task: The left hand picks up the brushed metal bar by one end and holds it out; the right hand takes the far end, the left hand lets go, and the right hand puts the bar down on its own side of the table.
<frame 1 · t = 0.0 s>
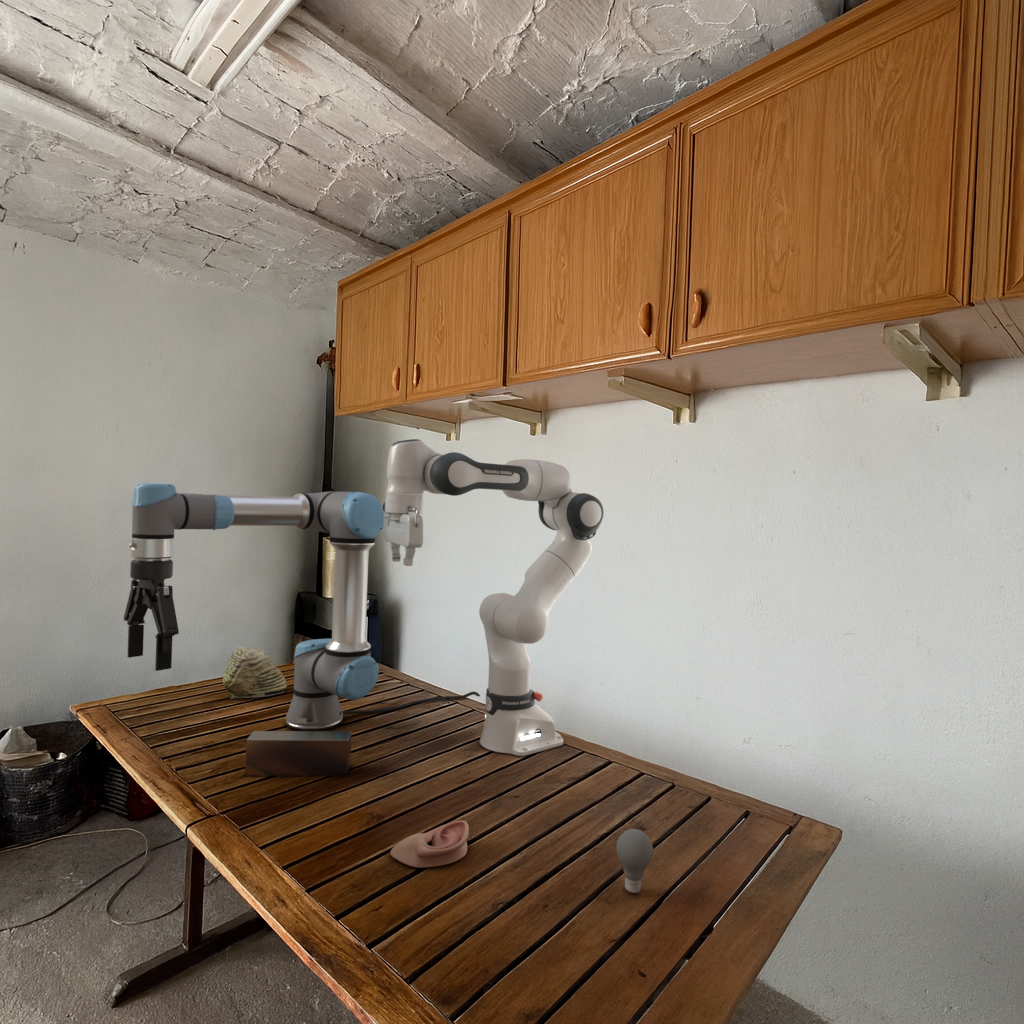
left hand: (148, 662, 129), 28 cm above the table, tool pointing down, fingers open, 13 cm apart
right hand: (401, 563, 153), 48 cm above the table, tool pointing down, fingers open, 8 cm apart
anatomical model: (430, 851, 115), on the table
light bulb: (632, 891, 106), on the table
fossil: (254, 694, 198), on the table
bar: (299, 770, 146), on the table
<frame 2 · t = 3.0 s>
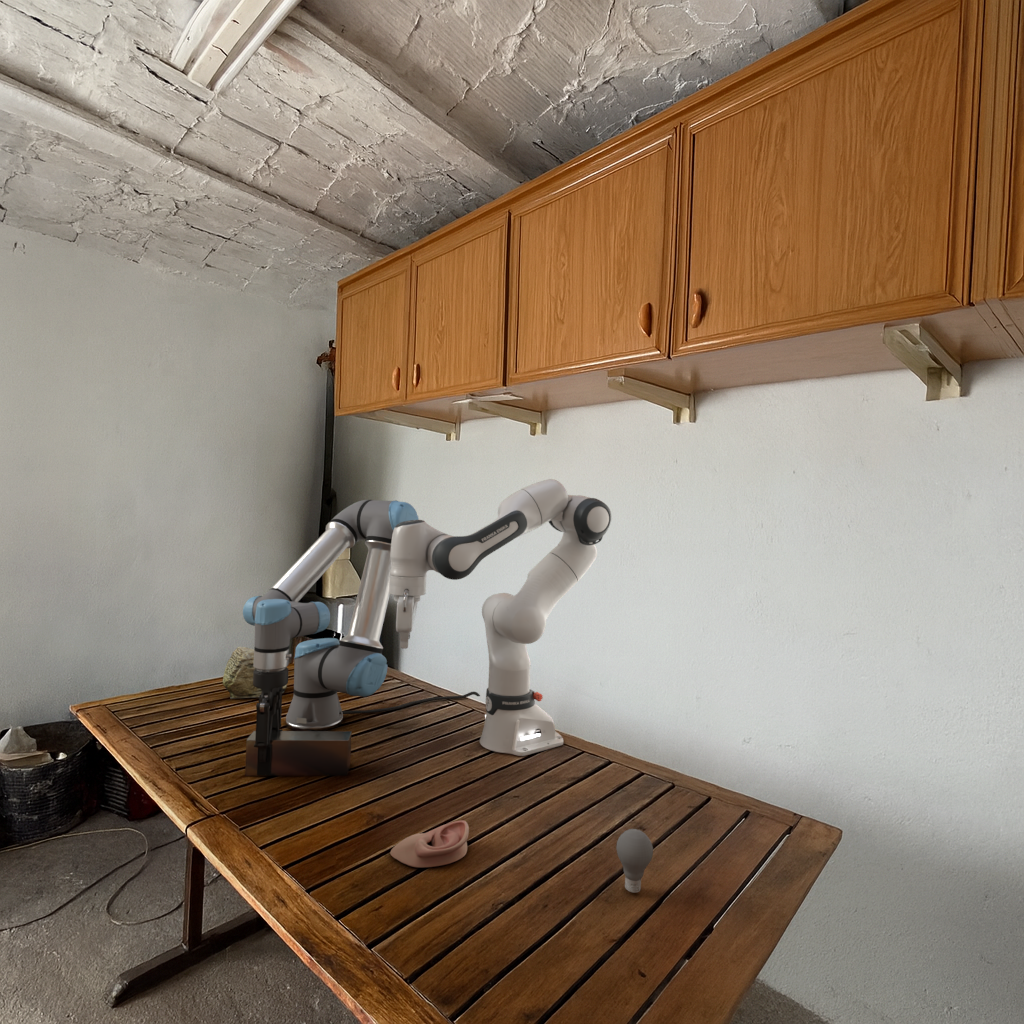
left hand: (267, 768, 145), 1 cm above the table, tool pointing down, fingers closed on bar, 6 cm apart
right hand: (405, 643, 154), 29 cm above the table, tool pointing down, fingers open, 8 cm apart
bar: (299, 770, 146), on the table, touching left hand
everything else where it was.
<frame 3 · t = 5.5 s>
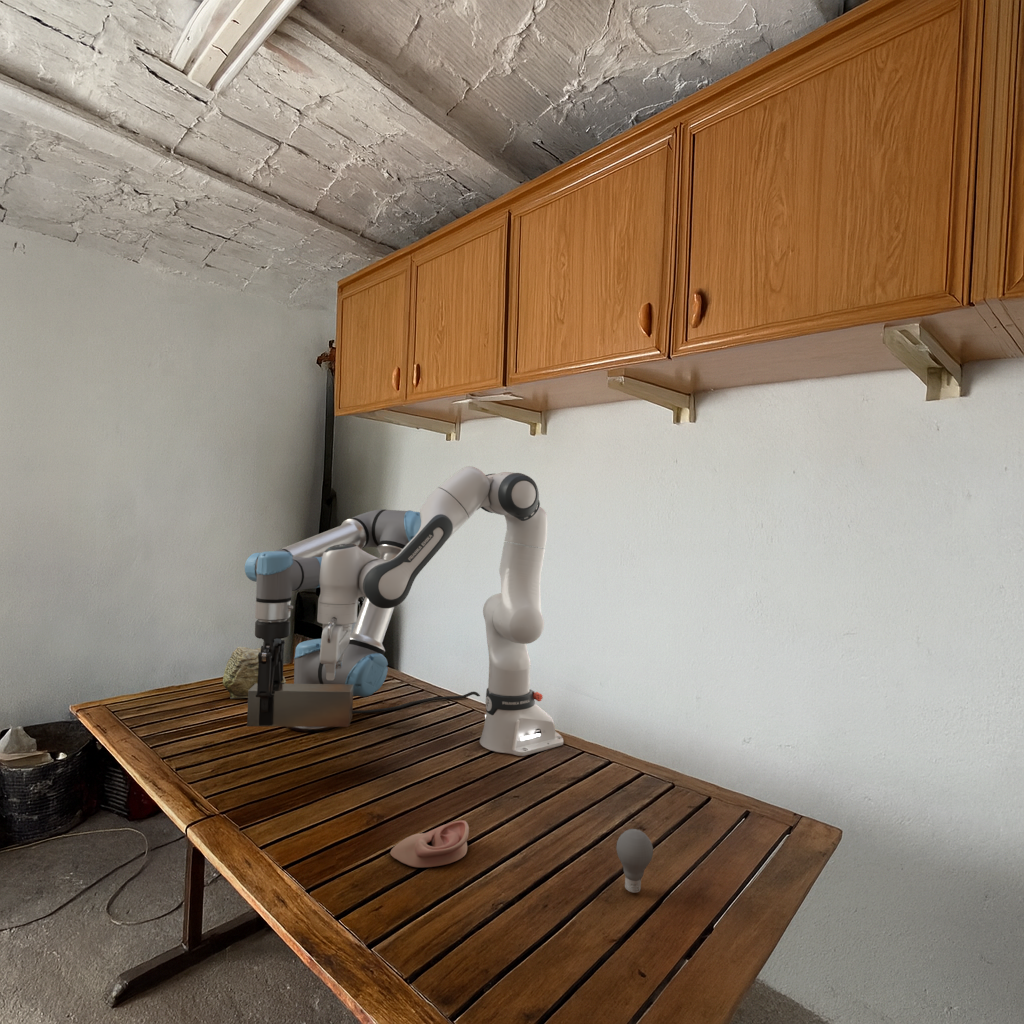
left hand: (269, 719, 145), 12 cm above the table, tool pointing down, fingers closed on bar, 6 cm apart
right hand: (334, 673, 146), 23 cm above the table, tool pointing down, fingers open, 8 cm apart
bar: (301, 722, 146), point 11 cm above the table, touching left hand
everything else where it was.
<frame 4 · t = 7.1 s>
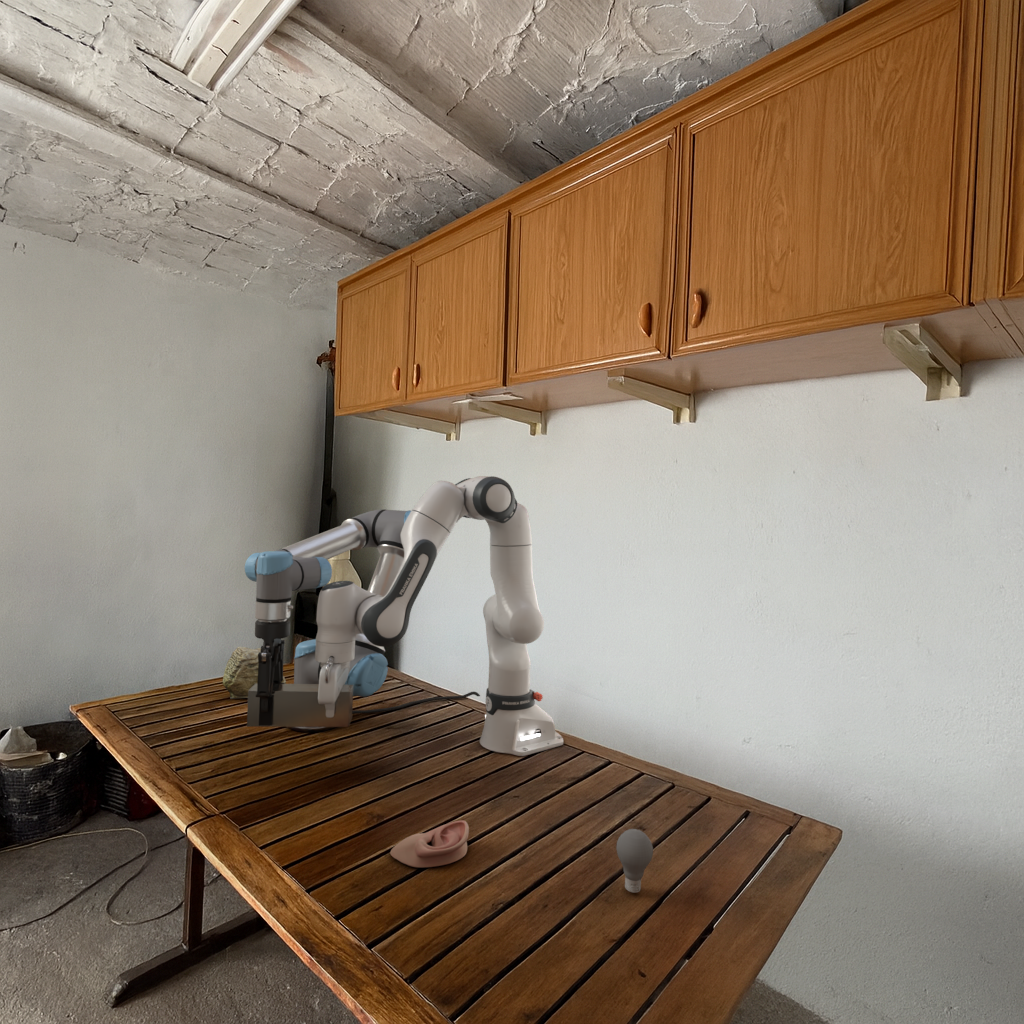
left hand: (269, 719, 145), 12 cm above the table, tool pointing down, fingers closed on bar, 6 cm apart
right hand: (332, 711, 147), 14 cm above the table, tool pointing down, fingers closed on bar, 5 cm apart
bar: (300, 722, 146), point 11 cm above the table, touching left hand, right hand
everything else where it was.
when the left hand's fingers open (12 cm above the table, at t = 8.0 s): bar stays where it is, held by the right hand.
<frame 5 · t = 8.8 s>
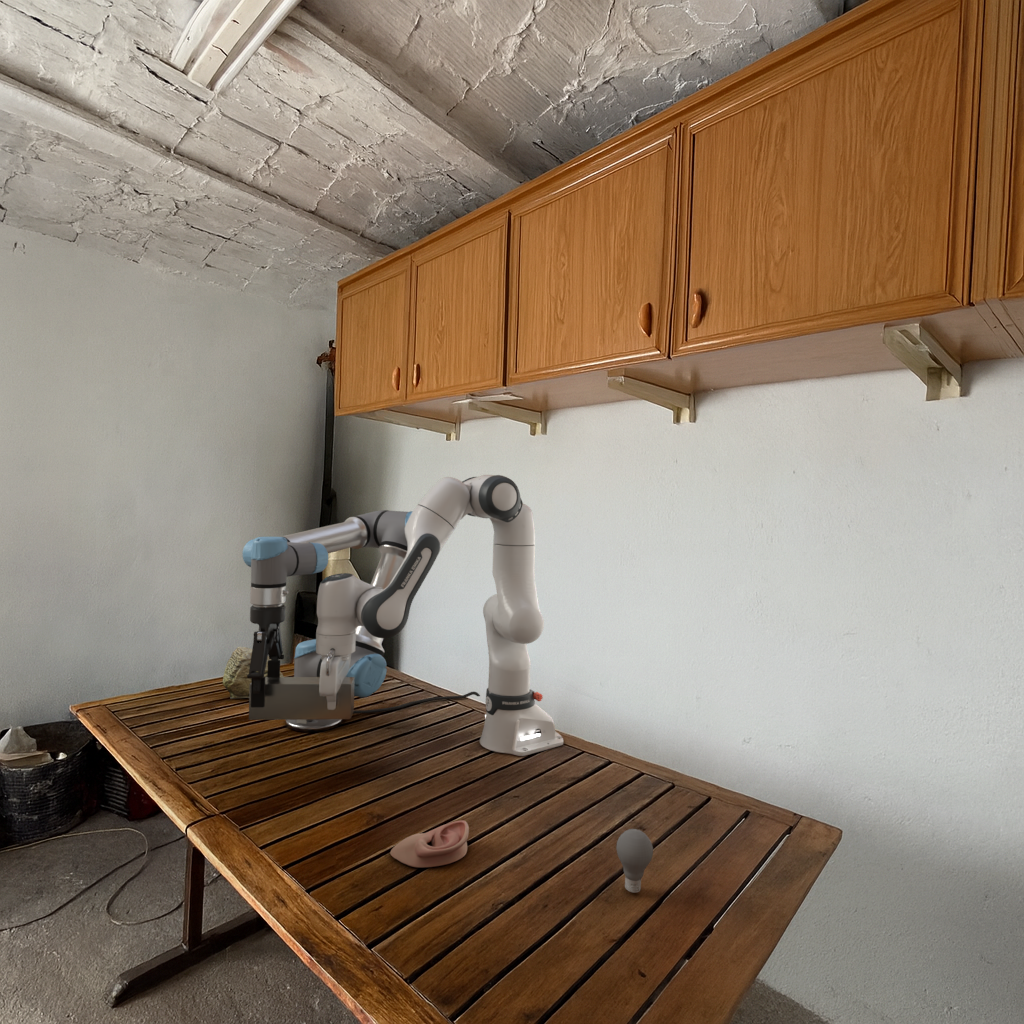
left hand: (265, 696, 145), 17 cm above the table, tool pointing down, fingers open, 13 cm apart
right hand: (334, 703, 147), 16 cm above the table, tool pointing down, fingers closed on bar, 5 cm apart
bar: (302, 715, 146), point 13 cm above the table, touching right hand
everything else where it was.
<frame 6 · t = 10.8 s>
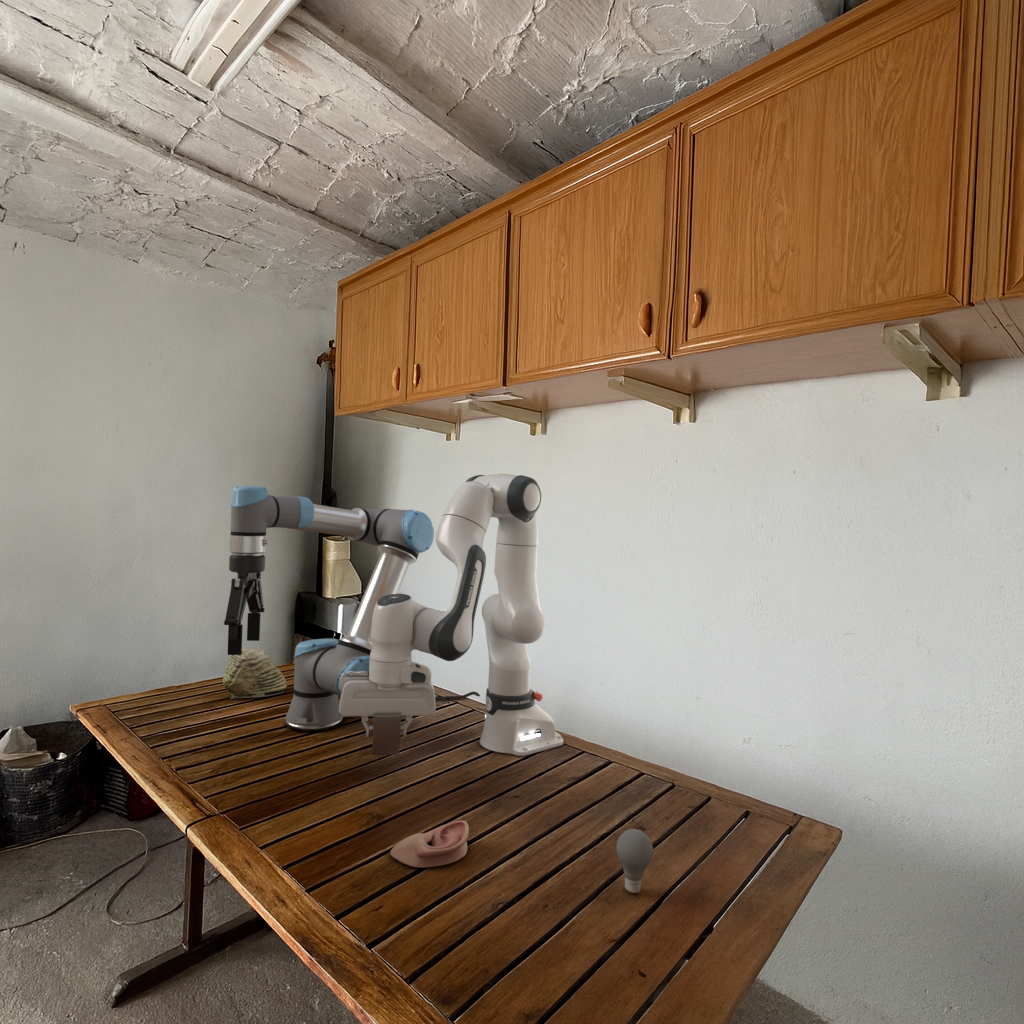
left hand: (244, 647, 144), 28 cm above the table, tool pointing down, fingers open, 13 cm apart
right hand: (386, 735, 135), 13 cm above the table, tool pointing down, fingers closed on bar, 5 cm apart
bar: (385, 735, 142), point 10 cm above the table, touching right hand
everything else where it was.
when the right hand's fingers open (4 cm above the table, at t = 12.1 s): bar stays where it is, on the table.
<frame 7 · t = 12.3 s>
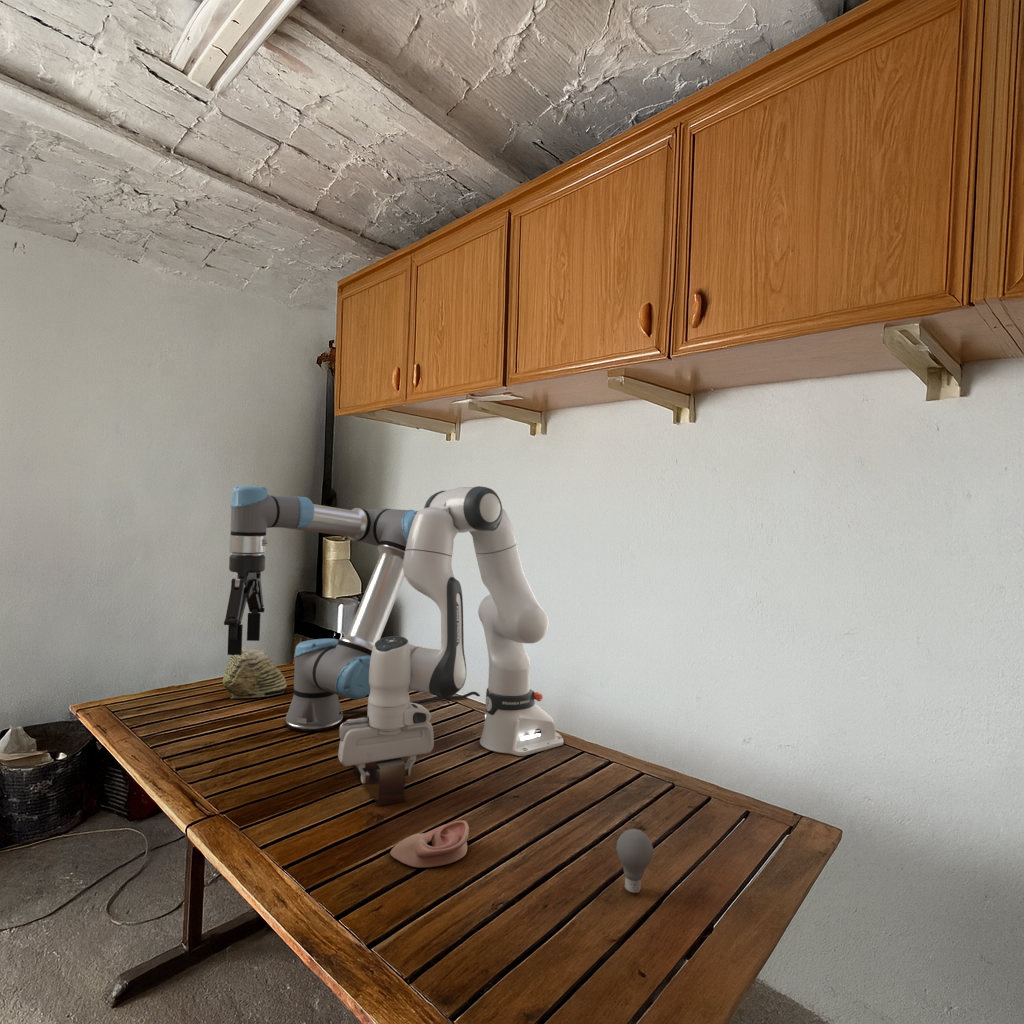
left hand: (244, 647, 144), 28 cm above the table, tool pointing down, fingers open, 13 cm apart
right hand: (385, 778, 136), 4 cm above the table, tool pointing down, fingers open, 8 cm apart
bar: (376, 781, 142), on the table
everything else where it was.
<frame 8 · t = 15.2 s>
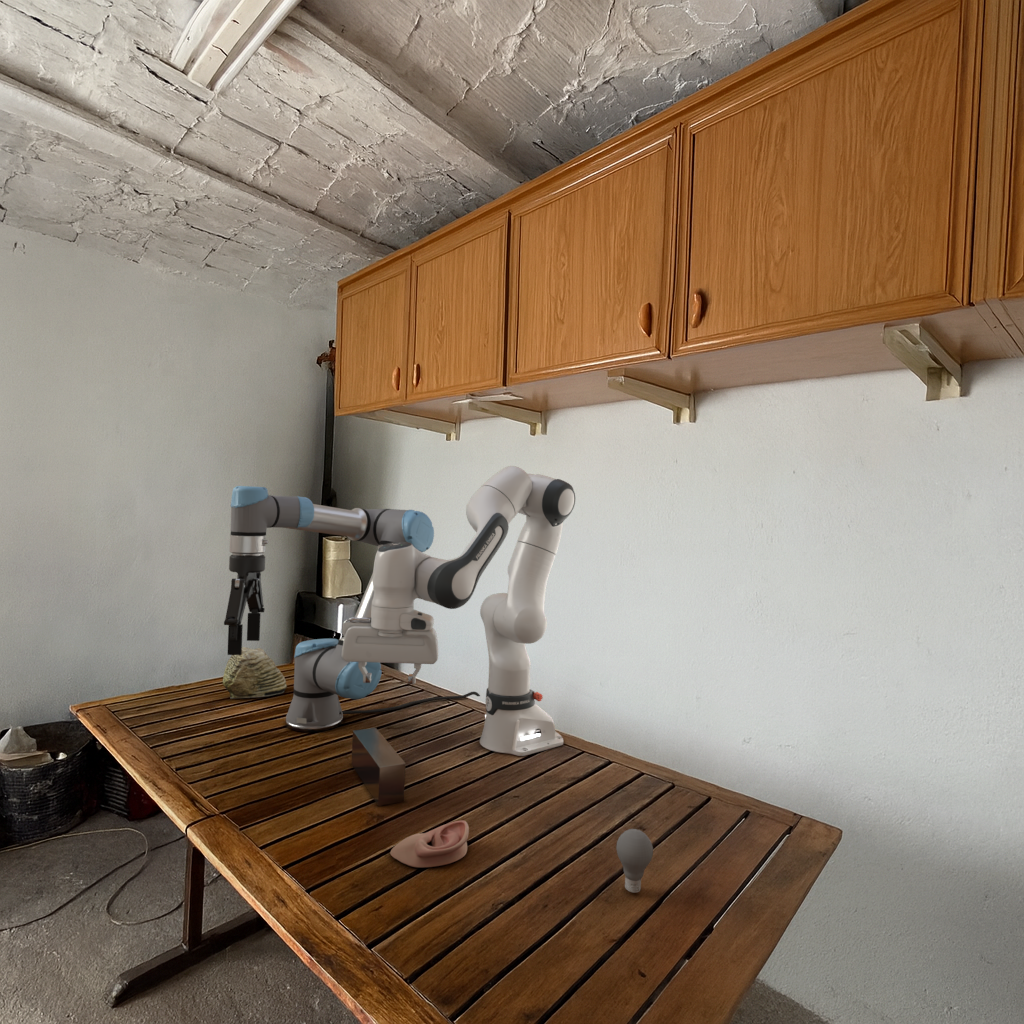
left hand: (244, 647, 144), 28 cm above the table, tool pointing down, fingers open, 13 cm apart
right hand: (389, 682, 135), 24 cm above the table, tool pointing down, fingers open, 8 cm apart
nothing on the table moved.
at the end: bar inside the target area (7.1 cm from its centre), on the table; the left hand is holding nothing; the right hand is holding nothing; bar at rest at the end (0.0 cm/s) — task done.
